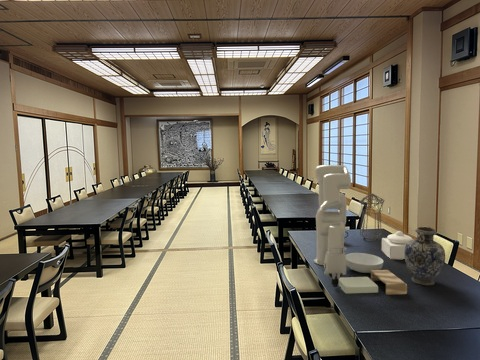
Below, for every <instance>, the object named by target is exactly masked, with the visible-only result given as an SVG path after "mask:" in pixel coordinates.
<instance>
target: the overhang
mask: <svg viewBox="0 0 480 360" xmlns="http://www.w3.org/2000/svg"><path fill="white" fill-rule="evenodd" d="M370 279H371V280H372V281H373V282H378V281H379V282H382V283H383V284H385V295H388V296H390V295H407V293H408V284H407V283H406V282H404V281H403V280H402V279H401V278H399V277H398V275H395V274H394V273H393V272H391V271H390V270H389V269H380V270H371V273H370Z"/></svg>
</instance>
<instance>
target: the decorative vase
mask: <svg viewBox="0 0 480 360" xmlns="http://www.w3.org/2000/svg"><path fill="white" fill-rule="evenodd" d="M415 233H417V238H414V239H413V238H412V239H413V240H411V241H409V242H408V243H407V244H406V246H405V250H404V256H405V265H406V269H407V271H408V272H409V273H410V274H411V275H412V277H411V281H412V283H415V284H417V285H422V286H429V287H430V286H433V285H435V280H434V279H435V278H436V277H437V276H439V275H440V273H441V272H442V270H443V268H444V265H445V262H446V250H445V248H444V247H443V245H442V244H440V243H439V242H437V241H435V240H434V239H435V238H434V236H435V235H438V233H437V231H436V230H435V229H434V228H432V227H430V226H427V227H425V226H422V227H421V226H420V227H419V226H418V228H417V229H415Z"/></svg>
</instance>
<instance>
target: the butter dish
mask: <svg viewBox="0 0 480 360" xmlns="http://www.w3.org/2000/svg"><path fill="white" fill-rule="evenodd" d="M411 240H413V238H412V237H411V236H409V235H407V234H404V233H403V232H402V231H401V230H397V231H396V232H395V233H392V234H388V235H387V237H382V238H381V249H380V250H381V251H382V252H383V254H384V255H386V257H387V258H388V257H389V258H390V259H389V258H388V259H389V260H403V259H405V256H404V250H405V246H406V244H407V243H408V242H409V241H411Z"/></svg>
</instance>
